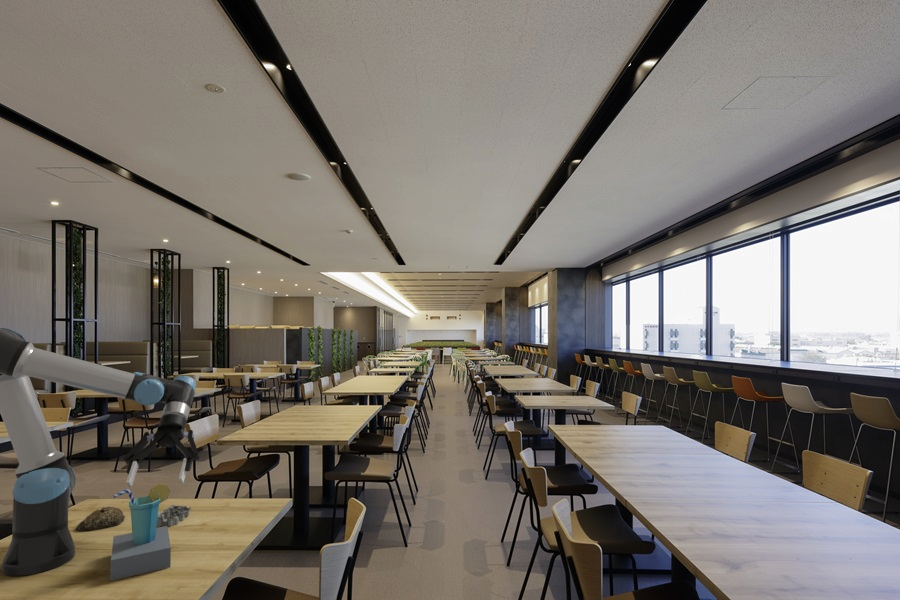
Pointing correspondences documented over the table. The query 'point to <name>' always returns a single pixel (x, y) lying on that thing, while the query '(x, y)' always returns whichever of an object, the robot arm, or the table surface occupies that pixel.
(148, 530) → the cup
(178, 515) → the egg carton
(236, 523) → the table surface
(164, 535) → the slate block
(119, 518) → the bread roll
